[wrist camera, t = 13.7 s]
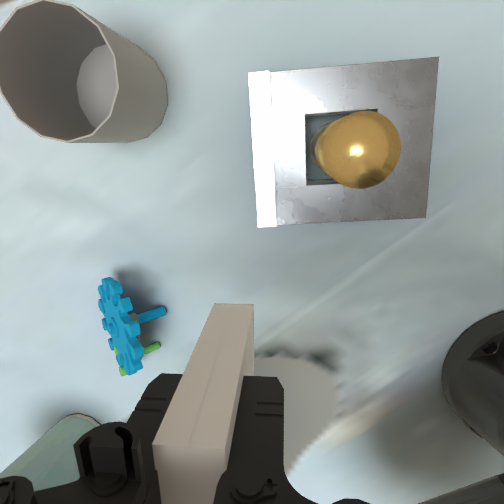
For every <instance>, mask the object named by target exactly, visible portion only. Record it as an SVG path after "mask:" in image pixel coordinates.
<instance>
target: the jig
mask: <svg viewBox="0 0 504 504" xmlns="http://www.w3.org/2000/svg"><path fill="white" fill-rule="evenodd" d="M438 61H439V57H431V58H420V59H409V60H398V61H388V62H377V63H366V64H355V65H344V66H333V67H322V68H311V69H301V70H290V71H279V72H269V71H262V72H251V73H248V79H249V95H250V110H251V126H252V141H253V157H254V172H255V188H256V204H257V219H258V227H273V226H277V225H282V224H304V223H325V222H347V221H368V220H390V219H411V218H426V209H427V197H428V185H429V172H430V160H431V148H432V135H433V123H434V111H435V98H436V86H437V74H438ZM359 111H373V112H377V113H380V114H382V115H384V116H385V117H387V118H388V119H389V120H390V121H391V122H392V123H393V124H394V125H395V127H396V129H397V131H398V133H399V136H400V141H401V152H400V157H399V160H398V163H397V165H396V167H395V169H394V170H393V171H392V173H391V174H390V175H389V176H388V177H387V178H386V179H385V180H384V181H382V182H381V183H379V184H377V185H375V186H372V187H369V188H365V189H353V188H349V187H346V186H343V185H342V184H340V183H338V182H337V181H336V180H334V179H326V180H309V181H306V154H305V117H315V116H328V115H341V114H352V113H355V112H359Z"/></svg>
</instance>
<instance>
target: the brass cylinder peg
mask: <svg viewBox="0 0 504 504" xmlns="http://www.w3.org/2000/svg"><path fill="white" fill-rule="evenodd" d="M400 152H401V141H400V136H399V133H398V131H397V129H396V127H395V125H394V124H393V123H392V122H391V121H390V120H389V119H388V118H387V117H385V116H384V115H382V114H380V113H377V112H373V111H359V112H355V113H352V114H349V115H347V116H344V117H342V118H340V119H337V120H335V121H332V122H330V123H328V124H325V125H323V126H322V127H320V128H319V129H318V130H317V131H316V132H315V134H314V135H313V137H312V140H311V143H310V155H311V158H312V160H313V162H314V163H315V165H316V166H317V167H319V168H320V169H321V170H322V171H324V172H325V173H326V174H328V175H329V176H330V177H332V178H333V179H334V180H336V181H337V182H338V183H340V184H342V185H343V186H346V187H349V188H353V189H365V188H369V187H372V186H375V185H377V184H379V183H381V182H382V181H384V180H385V179H386V178H387V177H388V176H389V175H390V174H391V173H392V171H393V170H394V169H395V167H396V165H397V163H398V160H399V157H400Z"/></svg>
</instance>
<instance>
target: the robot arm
mask: <svg viewBox="0 0 504 504" xmlns="http://www.w3.org/2000/svg"><path fill="white" fill-rule="evenodd" d="M253 373H254V311H253V304H217V303H214V305H213V308H212V310H211V312H210V314H209V317H208V319H207V321H206V323H205V326H204V328H203V330H202V333H201V335H200V337H199V339H198V342H197V344H196V346H195V348H194V351H193V353H192V355H191V357H190V360H189V362H188V364H187V366H186V369H185V371H184V373H183V374H165V373H161V374H160V375H159V376H158V377H156V378H155V379H154V380H153V381H152V382H151V383H149V384H148V386H147V388H146V389H145V391H144V393H143V395H142V397H141V400H139V402H138V404H137V405H136V407H135V411H133V412H132V414H131V416H130V418H129V419H128V421H127V423H124V422H111V423H106V424H103V425H100V426H97V427H94V428H93V429H91V430H90V431H88V432H87V433H85V434H83V435H82V436H81V437H80V438H79V439H78V440H77V441H76V443H75V444H74V445H73V447H74V452H75V456H76V461H77V466H78V470H79V475H80V477H79V479H78V480H77V481H74V482H71V483H68V484H64V485H60V486H55V487H51V488H47V489H42V490H38V491H34V488H33V484H32V482H31V481H30V480H29V479H27V478H26V477H23V476H15V475H14V476H9V477H4V478H0V504H318V503H315V502H313V501H311V500H309V499H307V498H305V497H303V496H302V495H300V494H299V493H298V492H297V491H296V490H295V489H294V488H293V487H292V485H291V484H290V483H289V481H288V479H287V477H286V475H285V472H284V465H283V447H284V446H283V445H284V444H283V441H284V440H283V439H284V428H283V427H284V389H283V387H282V385H281V383H280V382H279V380H278V379H277V377H261V376H253ZM442 386H443V390H444V393H445V396H446V398H447V400H448V402H449V403H450V405H451V406H452V408H453V410H454V411H455V413H456V414H457V416H458V417H459V418H460V420H461V421H462V422H463V423H464V424H465V425H466V426H467V427H468V428H469V429H470V430H471V431H473V432H474V433H475V434H477V435H478V436H480V437H482V438H484V439H485V440H486V441H487V442H489V443H490V444H491V445H492V446H493V447H494V448H496V449H497V450H498V451H499V452H500V453H501V454H502V455H504V312H500V313H497V314H495V315H492V316H490V317H488V318H486V319H484V320H482V321H480V322H478V323H477V324H475V325H474V326H472V327H471V328H469V329H468V330H467V331H466V332H465V333H464V334H462V335H461V336H460V337H459V339H458V340H457V341H456V342H455V343H454V345H453V346H452V348H451V349H450V351H449V353H448V355H447V357H446V359H445V362H444V365H443V370H442ZM332 504H370V503H367V502H364V501H362V500H359V499H342V500H339V501H337V502H334V503H332ZM419 504H504V473H503V474H500V475H496V476H493V477H491V478H488V479H485V480H482V481H480V482H477V483H474V484H471V485H469V486H466V487H463V488H460V489H458V490H455V491H452V492H449V493H447V494H444V495H441V496H438V497H436V498H433V499H430V500H427V501H425V502H422V503H419Z"/></svg>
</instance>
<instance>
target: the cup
mask: <svg viewBox="0 0 504 504" xmlns="http://www.w3.org/2000/svg"><path fill="white" fill-rule="evenodd" d="M0 93H1V95H2V96H3V98H4V99H5V101H6V103H7V104H8V106H9V107H10V109H11V110H12V112H13V114H14V115H15V117H16V118H17V120H19V121H20V122H22V123H23V124H24V125H26V126H27V127H28V128H30V129H31V130H32V131H34V132H35V133H36V134H38V135H39V136H40V137H43V138H48V139H53V140H57V141H62V142H66V143H113V142H132V141H136V140H140V139H143V138H147V137H148V136H149V135H150V134H151V133H152V132H153V131H154V130H155V129H156V128H157V127H158V126H159V125H161V123H162V120H163V117H164V114H165V111H166V108H167V106H168V97H167V86H166V80H165V78H164V76H163V74H162V72H161V71H160V69H159V67H158V65H157V63H156V61H155V60H154V59H153V58H151V57H150V56H149V55H148V54H146V53H145V52H144V51H143V50H141V49H140V48H139V47H138V46H136V45H135V44H133V43H132V42H130V41H128V40H127V39H125V38H124V37H122V36H121V35H119V34H118V33H116V32H115V31H113V30H111V29H110V28H108V27H107V26H105V25H104V24H102V23H101V22H99V21H98V20H96V19H95V18H93V17H91V16H90V15H88V14H87V13H85V12H84V11H82V10H81V9H79V8H78V7H76V6H74V5H73V4H69V3H64V2H60V1H55V0H36V1H33V2H30V3H27V4H25V5H22V6H19V7H16V8H15V10H14V11H13V12H12V14H11V15H10V16H9V18H8V19H7V20H6V21H5V23H4V24H3V25H2V27H1V28H0Z"/></svg>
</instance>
